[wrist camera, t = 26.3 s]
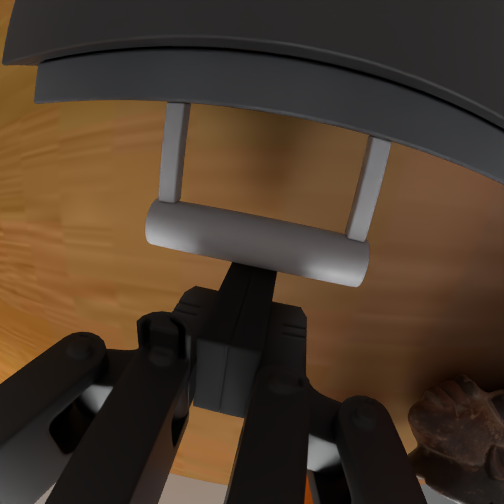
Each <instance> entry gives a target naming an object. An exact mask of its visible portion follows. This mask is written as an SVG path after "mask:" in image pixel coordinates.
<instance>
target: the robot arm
mask: <svg viewBox="0 0 504 504" xmlns="http://www.w3.org/2000/svg"><path fill="white" fill-rule="evenodd" d="M276 275H277V271H273V270H268V269H264V268H259V267H254V266H249V265H245V264H240V263H235V262H232V264H231V266H230V268H229V270H228V272H227V274H226V276H225V279H224V281H223V283H222V285H221V287H220V289H219V291H216V290H212V289H207V288H203V287H199V286H195V287H193V288H191V289H189V290H188V291H186V292H185V293H184V294H183V296H182V297H181V299H180V301H179V303H178V304H177V305H176V307H175V308H174V311H172V313H171V312H163V311H161V312H152V313H149V314H147V315H144V316H142V317H141V318H140V319H139V320H138V321H137V333H138V344H139V348H138V349H136V350H116V349H106V346H105V343H104V341H103V340H102V339H101V338H100V337H99V336H98V335H95V334H93V333H89V332H77V333H72V334H70V335H68V336H66V337H64V338H63V339H62V340H60V341H59V342H57V343H56V344H55V345H53V346H52V347H50V348H49V349H48V350H46V351H45V352H43V353H42V354H41V355H39V356H38V357H36V358H35V359H34V360H32V361H31V362H30V363H28V364H27V365H25V366H24V367H23V368H21V369H20V370H19V371H17V372H16V373H15V374H13V375H12V376H10V377H9V378H8V379H6V380H5V381H4V382H2V383H1V384H0V504H34V503H35V502H36V501H37V500H38V499H39V498H40V497H41V496H42V495H43V494H44V493H45V492H46V491H47V490H48V489H49V488H50V487H51V486H52V485H54V484H55V483H56V484H55V486H54V488H53V490H52V492H51V493H50V495H49V497H48V499H47V500H46V502H45V504H158V502H159V499H160V496H161V494H162V491H163V488H164V485H165V482H166V480H167V477H168V475H169V472H170V469H171V467H172V464H173V461H174V458H175V456H176V453H177V450H178V448H179V445H180V442H181V440H182V437H183V434H184V431H185V429H186V426H187V423H188V419H189V408H190V406H191V403H192V400H193V406H196V407H200V408H204V409H208V410H211V411H215V412H219V410H220V412H219V413H223V414H228V415H232V416H237V417H241V418H244V423H243V427H242V430H241V434H240V438H239V442H238V445H237V446H238V447H237V451H236V455H235V460H234V464H233V468H232V472H231V476H230V480H229V484H228V489H227V493H226V497H225V500H224V504H304V501H305V489H306V476H307V477H308V481H309V486H310V491H311V495H312V500H313V504H427V502H426V499H425V496H424V494H423V492H422V489H421V486H420V484H419V481H418V479H417V477H416V474H415V472H414V469H413V467H412V465H411V462H410V460H409V457H408V455H407V453H406V450H405V448H404V446H403V444H402V441H401V439H400V437H399V434H398V432H397V430H396V428H395V426H394V423H393V421H392V419H391V417H390V414H389V413H388V411H387V410H386V408H385V407H384V405H382V404H381V403H380V402H378V401H377V400H375V399H373V398H370V397H367V396H353V397H350V398H347V399H346V400H345V401H344V402H342V403H341V402H338V401H336V400H333V399H331V398H328V397H326V396H324V395H322V394H320V393H319V392H318V391H316V390H315V389H314V388H313V387H312V386H311V384H310V383H309V379H308V378H307V377H306V336H307V330H306V328H307V317H306V316H305V314H304V312H303V310H302V309H301V307H297V306H291V305H286V304H281V303H277V302H272V298H273V292H274V287H275V281H276ZM193 398H194V399H193Z"/></svg>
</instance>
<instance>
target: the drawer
mask: <svg viewBox="0 0 504 504" xmlns="http://www.w3.org/2000/svg"><path fill="white" fill-rule="evenodd" d="M170 47H173V48H155V49H134V50H120V51H109V52H100V53H92V54H84V55H78V56H71V57H65V58H60V59H55V60H49V61H45V62H41V63H39V65H38V70H37V78H36V87H35V97H34V102H35V103H36V104H42V103H53V102H67V101H87V100H148V101H169V102H168V103H167V108H166V116H165V125H164V134H163V145H162V156H161V168H160V181H159V198H157V199H156V200H155V201H154V202H153V203H152V205H151V207H150V209H149V211H148V215H147V219H146V225H145V234H146V239H147V241H148V242H149V243H150V244H153V245H157V246H162V247H166V248H171V249H175V250H180V251H184V252H189V253H193V254H198V255H203V256H207V257H212V258H217V259H221V260H226V261H231V262H235V263H240V264H245V265H249V266H254V267H259V268H264V269H268V270H273V271H278V272H283V273H288V274H293V275H297V276H302V277H307V278H312V279H317V280H322V281H327V282H332V283H337V284H342V285H347V286H352V287H358V286H359V285H360V284H361V283H362V281H363V279H364V277H365V274H366V271H367V268H368V263H369V255H370V248H369V242H368V240H366V236H367V233H368V230H369V226H370V223H371V220H372V216H373V213H374V209H375V206H376V202H377V198H378V195H379V191H380V187H381V183H382V180H383V176H384V172H385V168H386V164H387V159H388V155H389V151H390V146H391V141H392V142H395V143H399V144H402V145H405V146H408V147H411V148H414V149H417V150H420V151H423V152H426V153H428V154H431V155H434V156H437V157H439V158H442V159H445V160H447V161H450V162H453V163H455V164H458V165H460V166H463V167H465V168H468V169H470V170H472V171H475V172H477V173H479V174H482V175H484V176H486V177H488V178H491V179H493V180H495V181H497V182H499V183H501V184H504V131H503V130H501V129H499V128H498V127H496V126H494V125H492V124H490V123H488V122H486V121H484V120H482V119H480V118H478V117H476V116H474V115H472V114H470V113H468V112H466V111H464V110H461V109H459V108H457V107H455V106H452V105H450V104H448V103H446V102H443V101H441V100H438V99H436V98H433V97H431V96H428V95H426V94H423V93H421V92H418V91H421V90H419V89H416V88H413V87H411V86H408V85H405V84H402V83H399V82H396V81H393V80H390V79H387V78H384V77H380V76H377V75H374V74H370V73H367V72H363V71H360V70H356V69H352V68H348V67H344V66H340V65H336V64H332V63H327V62H322V61H318V60H313V59H308V58H302V57H297V56H291V55H285V54H278V53H271V52H263V53H252V52H243V51H232V50H225V49H224V48H221V47H201V46H170ZM190 103H197V104H207V105H217V106H226V107H234V108H241V109H249V110H255V111H262V112H268V113H274V114H280V115H285V116H291V117H296V118H301V119H306V120H311V121H315V122H320V123H324V124H329V125H333V126H337V127H341V128H345V129H349V130H353V131H357V132H361V133H365V134H368V135H369V137H368V142H367V146H366V151H365V155H364V159H363V164H362V168H361V172H360V176H359V181H358V185H357V189H356V193H355V197H354V200H353V204H352V208H351V212H350V216H349V219H348V223H347V226H346V230H345V233H346V234H342V233H338V232H333V231H329V230H324V229H320V228H315V227H310V226H306V225H301V224H296V223H291V222H287V221H282V220H277V219H272V218H267V217H262V216H257V215H252V214H247V213H242V212H237V211H231V210H226V209H221V208H216V207H210V206H205V205H199V204H194V203H188V202H183V201H178V200H180V198H181V187H182V176H183V166H184V156H185V147H186V138H187V130H188V122H189V114H190V107H191V104H190Z"/></svg>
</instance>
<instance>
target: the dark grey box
mask: <svg viewBox="0 0 504 504" xmlns="http://www.w3.org/2000/svg"><path fill="white" fill-rule="evenodd" d="M170 46H201V47H221V48H235V49H246V50H255V51H263V52H271V53H278V54H285V55H291V56H297V57H302V58H308V59H313V60H318V61H322V62H327V63H332V64H336V65H340V66H344V67H348V68H352V69H356V70H360V71H363V72H367V73H370V74H374V75H377V76H380V77H384V78H387V79H390V80H393V81H396V82H399V83H402V84H405V85H408V86H411V87H413V88H416V89H419V90H421V91H418V92H421V93H423V94H426V95H428V96H431V97H433V98H436V99H438V100H441V101H443V102H446V103H448V104H450V105H452V106H455V107H457V108H459V109H461V110H464V111H466V112H468V113H470V114H472V115H474V116H476V117H478V118H480V119H482V120H484V121H486V122H488V123H490V124H492V125H494V126H496V127H498V128H499V129H501V130H503V131H504V0H15V3H14V7H13V11H12V14H11V18H10V23H9V27H8V32H7V36H6V42H5V47H4V53H3V59H2V64H3V65H36V66H38V65H39V63H41V62H45V61H49V60H55V59H60V58H65V57H71V56H78V55H84V54H92V53H100V52H109V51H120V50H134V49H155V48H173V47H170Z"/></svg>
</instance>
